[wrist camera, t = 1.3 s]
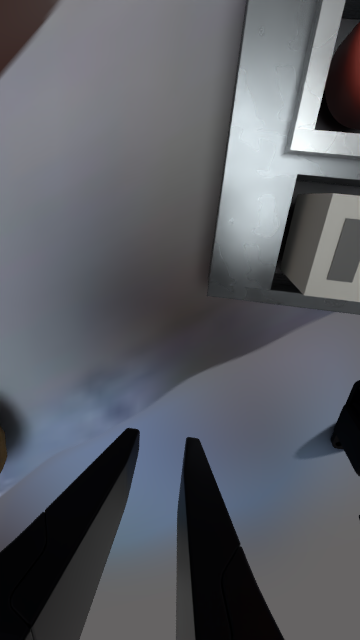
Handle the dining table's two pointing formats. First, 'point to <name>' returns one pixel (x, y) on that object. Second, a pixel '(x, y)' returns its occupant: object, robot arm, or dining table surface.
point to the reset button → (345, 82)
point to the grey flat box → (278, 146)
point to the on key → (324, 246)
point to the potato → (2, 449)
